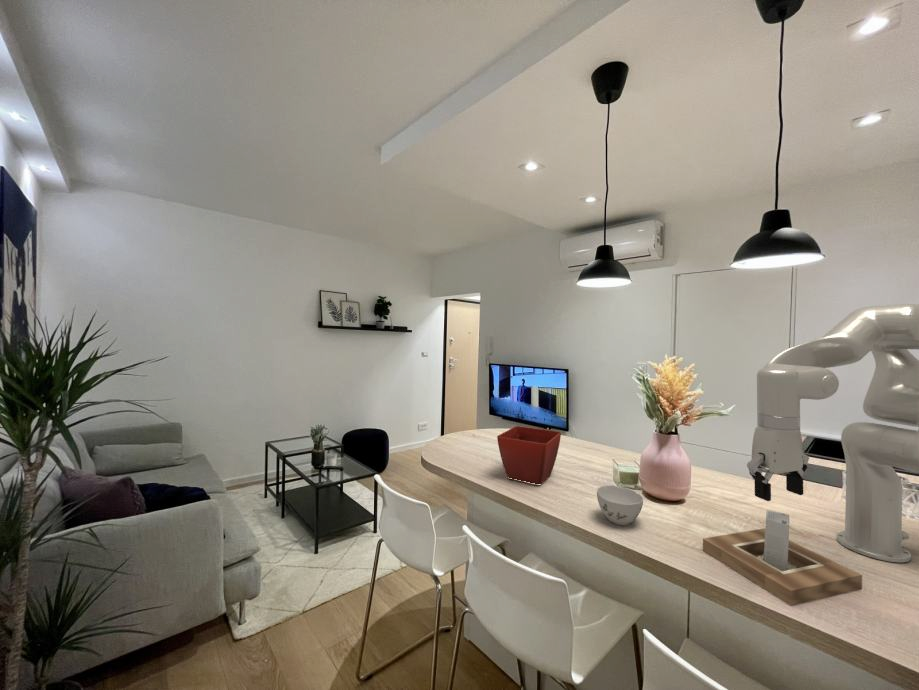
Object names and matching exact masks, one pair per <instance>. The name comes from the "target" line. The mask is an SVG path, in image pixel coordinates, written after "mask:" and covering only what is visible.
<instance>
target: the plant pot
mask: <svg viewBox="0 0 919 690" xmlns="http://www.w3.org/2000/svg"><path fill="white" fill-rule="evenodd" d="M561 437H562V433H561V431H557V430H549V429H543V428H534V427H527V426H518V425H516V426H514V427H511V428H509V429H508V430H506V431H504V432H502V433H500V434H499V435H497V436H496V439H497V445H498V451H499V453H500V458H501V459H500V460H501V461H502V465H503V468H504V470H505V474H506V477H507V478H508V477H509V478H512V479H517V480H521V481H526V482H530V483H535V484H541V485H543V484H544V483H545V481H546V480H548V479H549V478H550V476H551V475H552V472H553V469H554V467H555V463H556V461H557V457H558V456H557V455H558V453H559V448H560V442H561Z"/></svg>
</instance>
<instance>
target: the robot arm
mask: <svg viewBox="0 0 919 690" xmlns="http://www.w3.org/2000/svg"><path fill="white" fill-rule="evenodd" d="M910 350H919V304H916V303H907V304H906V303H903V304H890V305H889V304H888V305H872V306H865V307H860V308H857V309H855V310H853V311H851V312H850V313H849V314H848V315H846V316H845V318H843V319H842V320H841V321H840V322H838V323H837V324H836V325H835V326H834V327H833V328H831V329H830V330H829V331H828V332H826V333H825V334H824V335H823V336H821V337H818V338H814V339H812V340H809V341H806V342H803V343H801V344H798V345H795V346H792V347H789V348H787V349H785V350H783V351H781V352H779V353H778V354H776V355H775V356H773V358H772V359H771V360H769V361H768V362H767V363H766V364H765V365H764V366H762V367H763V368H760V369H759V370H758V371H757V373H756V410H757V411H756V413H757V415H756V416H757V417H756V421H757V423H756V427H755V428H754V432H753V437H752V443H751V444H752V445H751V459H750V461H748V462H747V463H746V467H747V469H748V471H749V474H750V476H751V478H752V480H753V481H754V496H755V497H757V498H759V499H760V500H764V501H766V502H770V501H772V484H771V483H770V482H769V481H770V480H771V478H772V476H773V475H780V474H786V475H785V477H786V478H785V479H786V482H785V484H786V486H785V488H786V491H788V492H790V493H793V494H797V495H798V496H803V495H804V478H805V477H806V473H805V472H806V471H807V469H808V463H809V460H810V457H809V455H807V454H806V453H804V445H803V439H802V432H801V400H816V401H819V400H821V401H822V400H825V399H828V398H831V397H832V396H833V395H835V394H836V393H837V391H838V390H839V386H840V383H839V382H840V381H839V378H838V377H837V375H836V374H835V373H834V372H833V370H830V368H837V367H841V366H848V365H852V364H855V363H859V361H861V360H863V359H864V357H865V356H867V355H868V354H869V353H870V352H871V354H872V355H873V358H874V362H875V368H874V371H873V375H872V377H871V381H870V383H869V385H868V389H867V391H866V394H865V396H864V400H863V404H862V410H863V412H864V414H865V415H866V416H867V417H869V418H871V419H874V420H877V421H881V422H886V423H892V424H897V425H904V426H907V427H909V426H910V427H916V428H918V429H917V430H916V429H910V428H909V429H908V428H905V427H904V428H903V427H897V426H892V425H887V424H880V423H874V422H867V421H866V422H865V421H864V422H863V421H859V422H852V423H850V424H848V425H846V426H845V427H844V428H843V429H842V431H841V436H840V440H841V445H842V446H841V447H842V449H843V453H844V454H843V455H844V461H845V512H844V513H845V521H844V526H845V527H844V528H845V529H844V531H840V532H837V533H836V540H837V541H838V543H839V544H841V545H842V546H843V547H845V548H847V549H849V550H851V551H853V552H855V553H858V554H861V555H862V556H866V557H869V558H873V559H876V560H880V561H885V562H888V563H889V562H890V563H907V562H910V561H911V560H912V554H911V552H910V551H909V550H908V549H906V548H905V547H903V546H902V541H904V540H907V539H909V538H910V535H909V534H908V532H906V531H904V530H902V529H903V528H902V525H903V523H902V522H903V521H902V520H903V483H902V480H901V478H900V477H899V475H898V473H897V472H896V471H895V469H894V468H897V469H902V470H904V471H905V470H906V471H909V472H913V473H918V474H919V359H918V358H917V357H915V356H914V354H913V353H911V352H910ZM762 473H765V474H764V475H763V474H762Z"/></svg>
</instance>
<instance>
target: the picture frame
mask: <svg viewBox="0 0 919 690" xmlns="http://www.w3.org/2000/svg"><path fill="white" fill-rule="evenodd" d="M764 540H765V528H760V529H759V528H758V529H753V530H746V531H740V532H735V533H730V534H729V533H727V534H722V535H717V536H709V537H706V538H705V537H703V538H702V551H703V552H705V554H708V555H710V556H711V557H713V558H714V559H716V560H717V561H719V562H721V563H722V564H724V565H725V566H727V567H728V568H730V569H731V570H734V571H735V572H736V573H739V575H742V576H743V577H745V579H746V578H747V580H749V581H751V582H752V583H755V584H756V585H758V586H759V587H761V588H762V589H764V590H765V591H766V592H769V593H770V594H771V595H774V596H775V597H776V598H778V599H779V600H781V601H783V602H785V603H786V604H788V605H789V606H794V605H795V606H796V605H799V604H804V603H808V602H812V601H815V600H821V599H824V598H829V597H833V596H838V595H842V594H846V593H849V592H854V591H858V590H862V589H863V588H862V587H863V575H862V574H861V573H858V572H857V571H855V570H852V569H850V568H848V567H847V566H844V565H842V564H841V563H838V562H837V561H834V560H831V559H829V558H828V557H825V556H823V555H821V554H819V553H817V552H815V551H813V550H810V549H808V548H806V547H804V546H802V545H800V544H798V543H796V542H794V541H792V540H790V539H789V546H788V564H790V565H792V566H795V567H796V568H792V569H787V570H786V571H781V570H779V569H777V568H775V567H773V566H772V565H770V564H768V563H766V562H764V561H763V560H764V559H761V558H759V557H758V556H760V555H761V556H762V555H764Z"/></svg>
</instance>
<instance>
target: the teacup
mask: <svg viewBox="0 0 919 690" xmlns="http://www.w3.org/2000/svg"><path fill="white" fill-rule="evenodd" d="M596 497H597V503H598V505H599V508H600V509H601V512H602V513H603V515H604V516H605V517H606V518H607V520H608V521H610V522H611V523H612V522H613V523H612V524H616V525H618V526H628V525H630V523H631V522H633V521H634V520H635V519H637V518H638V516H639V515H640V513H641V511H642V509H643V504H644V496H642V494H640V493H638V492H636V491H635V490H633V489H631V488H628V487H622V486H617V485H611V484H610V485H603V486H599V487H597V489H596Z"/></svg>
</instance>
